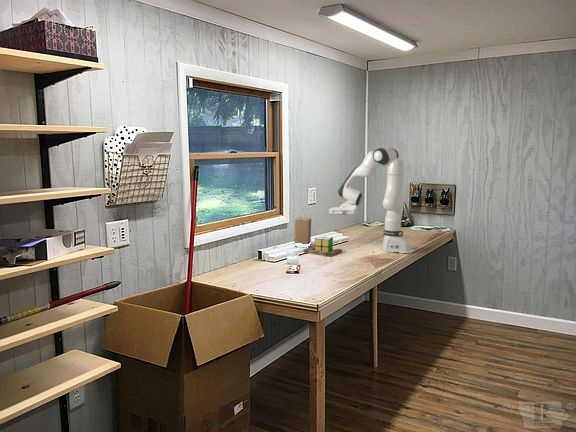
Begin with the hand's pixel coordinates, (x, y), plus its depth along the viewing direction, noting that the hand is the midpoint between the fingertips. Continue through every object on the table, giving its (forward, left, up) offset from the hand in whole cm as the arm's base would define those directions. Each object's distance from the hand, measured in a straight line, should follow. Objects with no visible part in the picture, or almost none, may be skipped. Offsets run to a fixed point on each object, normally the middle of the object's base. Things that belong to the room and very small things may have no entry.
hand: (339, 213), depth 354 cm
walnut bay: (+1, +21, -24) cm, 32 cm away
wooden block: (+22, +13, -24) cm, 35 cm away
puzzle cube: (+1, +20, -25) cm, 32 cm away
